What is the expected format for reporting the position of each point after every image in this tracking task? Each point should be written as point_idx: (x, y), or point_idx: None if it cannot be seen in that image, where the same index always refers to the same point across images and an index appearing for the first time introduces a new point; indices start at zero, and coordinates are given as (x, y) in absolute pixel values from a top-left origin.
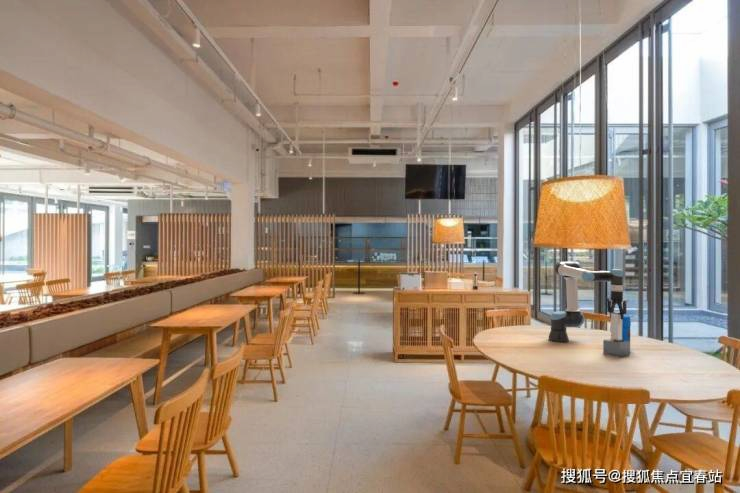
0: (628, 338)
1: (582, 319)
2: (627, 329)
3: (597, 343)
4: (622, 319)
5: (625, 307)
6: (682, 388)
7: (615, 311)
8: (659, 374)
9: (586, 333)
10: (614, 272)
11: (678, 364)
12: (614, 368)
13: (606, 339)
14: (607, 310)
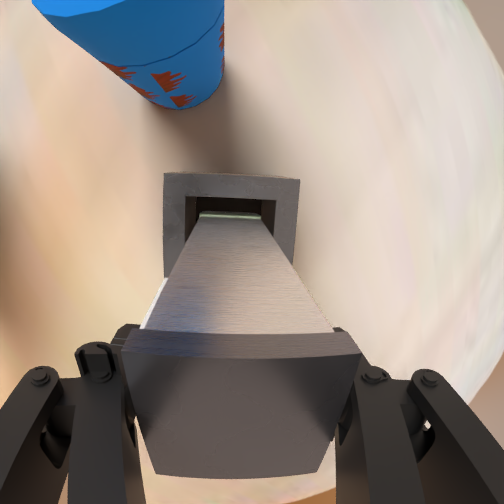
0: (223, 50)
1: None
2: (217, 27)
3: (53, 88)
4: (163, 8)
5: (489, 490)
6: (461, 389)
7: (162, 389)
8: (431, 350)
9: None
10: None
11: (453, 167)
12: None
13: (169, 272)
14: (52, 438)
